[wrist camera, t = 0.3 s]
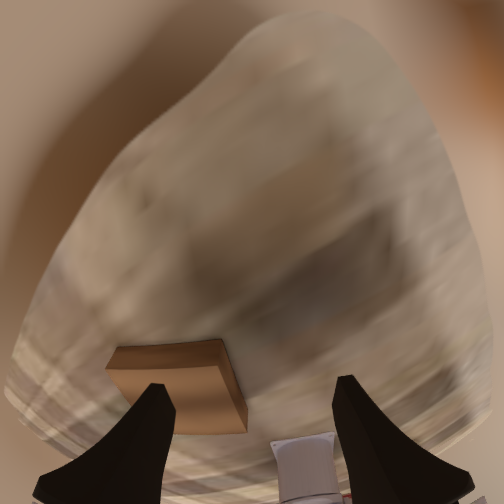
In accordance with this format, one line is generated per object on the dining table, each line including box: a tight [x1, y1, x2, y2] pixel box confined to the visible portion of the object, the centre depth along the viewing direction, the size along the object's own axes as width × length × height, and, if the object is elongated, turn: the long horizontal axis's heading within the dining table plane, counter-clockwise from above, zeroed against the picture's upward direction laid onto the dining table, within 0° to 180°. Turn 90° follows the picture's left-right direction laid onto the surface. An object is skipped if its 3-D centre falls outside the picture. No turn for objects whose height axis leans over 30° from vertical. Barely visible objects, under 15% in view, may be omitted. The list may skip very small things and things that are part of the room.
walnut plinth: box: [105, 339, 248, 435], centre depth 21 cm, size 10×10×3 cm
